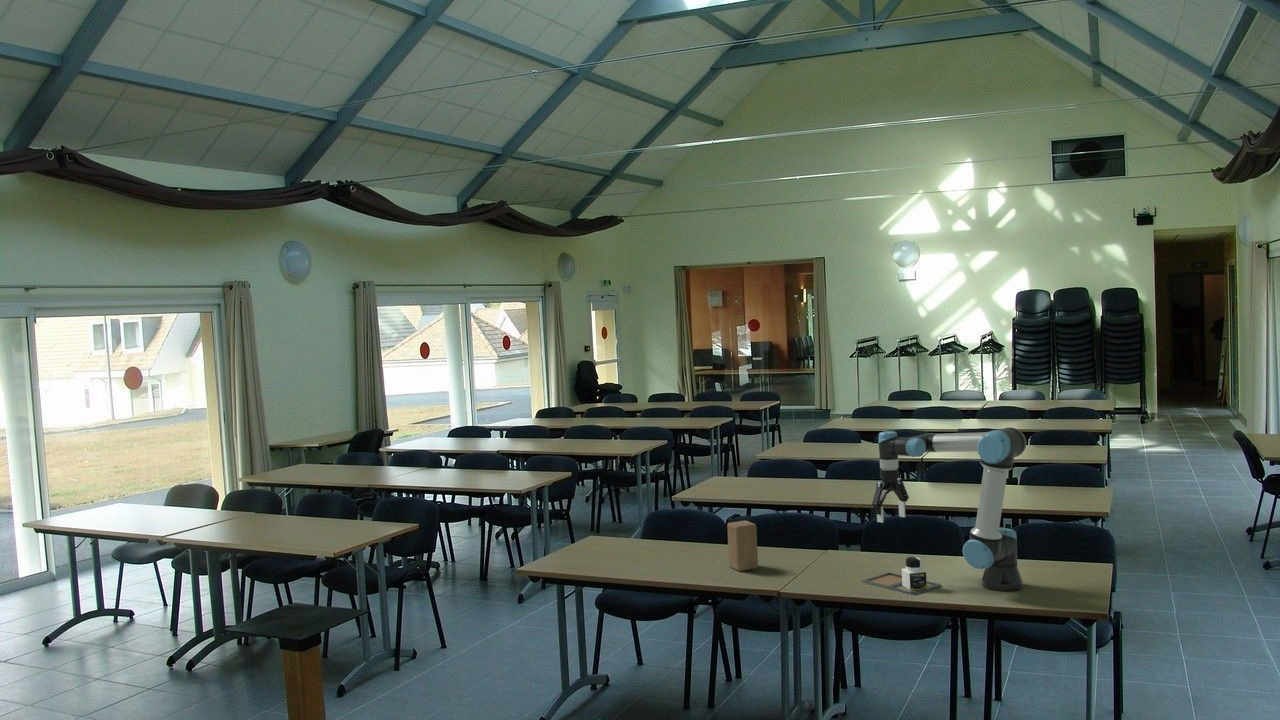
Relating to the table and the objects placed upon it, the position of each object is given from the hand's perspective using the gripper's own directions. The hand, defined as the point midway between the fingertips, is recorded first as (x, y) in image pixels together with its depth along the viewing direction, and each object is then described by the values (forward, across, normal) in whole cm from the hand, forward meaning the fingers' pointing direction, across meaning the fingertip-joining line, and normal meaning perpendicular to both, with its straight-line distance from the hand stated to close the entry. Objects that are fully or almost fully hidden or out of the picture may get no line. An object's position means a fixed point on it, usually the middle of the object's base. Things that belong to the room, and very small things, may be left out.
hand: (891, 519), depth 406 cm
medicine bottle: (+24, +7, +16) cm, 30 cm away
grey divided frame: (+24, +7, +10) cm, 27 cm away
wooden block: (+23, +36, -54) cm, 69 cm away
